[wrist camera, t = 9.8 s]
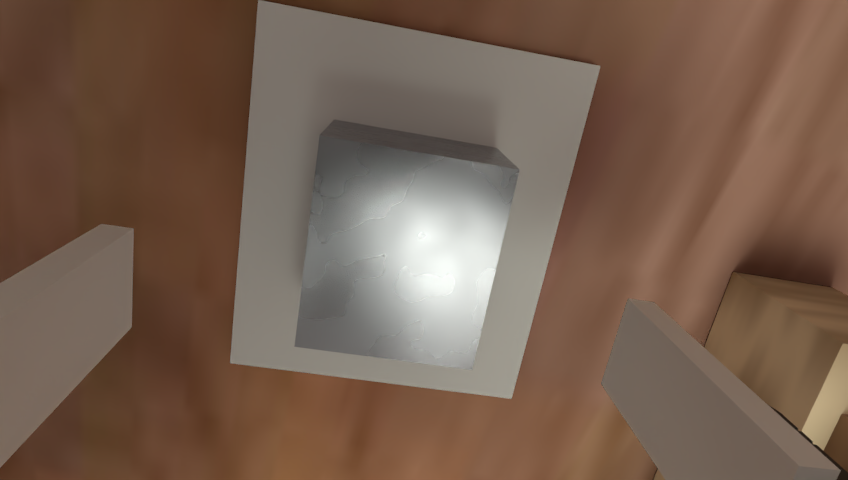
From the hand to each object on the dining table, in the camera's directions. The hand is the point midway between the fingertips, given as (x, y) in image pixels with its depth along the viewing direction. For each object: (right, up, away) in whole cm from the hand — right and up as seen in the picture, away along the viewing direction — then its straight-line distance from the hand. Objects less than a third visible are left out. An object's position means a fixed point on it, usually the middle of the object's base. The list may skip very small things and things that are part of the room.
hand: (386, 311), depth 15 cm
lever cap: (0, +2, +6) cm, 7 cm away
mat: (0, +3, +7) cm, 8 cm away
